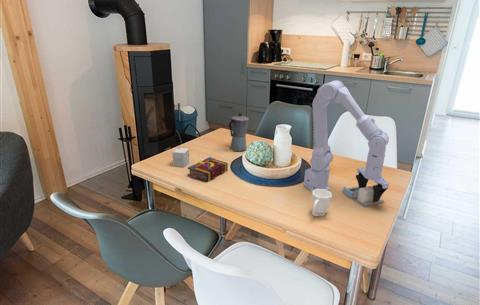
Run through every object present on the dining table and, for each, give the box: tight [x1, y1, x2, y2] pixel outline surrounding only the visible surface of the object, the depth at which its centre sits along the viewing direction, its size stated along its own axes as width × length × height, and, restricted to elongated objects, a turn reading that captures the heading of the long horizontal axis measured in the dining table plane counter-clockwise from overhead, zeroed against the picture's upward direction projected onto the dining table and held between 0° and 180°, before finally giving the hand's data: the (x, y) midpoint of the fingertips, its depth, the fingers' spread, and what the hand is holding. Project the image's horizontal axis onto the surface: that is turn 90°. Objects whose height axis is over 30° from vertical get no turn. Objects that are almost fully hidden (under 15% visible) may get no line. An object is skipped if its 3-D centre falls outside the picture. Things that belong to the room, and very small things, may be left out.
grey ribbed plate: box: [341, 185, 385, 208], centre depth 127 cm, size 10×13×3 cm
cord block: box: [358, 185, 374, 203], centre depth 123 cm, size 7×4×5 cm, turn 110°
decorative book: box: [187, 156, 229, 183], centre depth 145 cm, size 11×16×5 cm
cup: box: [312, 189, 333, 217], centre depth 114 cm, size 7×10×8 cm
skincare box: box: [171, 147, 191, 168], centre depth 154 cm, size 6×6×7 cm
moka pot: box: [228, 112, 250, 152], centre depth 171 cm, size 10×15×20 cm, turn 148°
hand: (368, 196), depth 124 cm, fingers open, 7 cm apart
